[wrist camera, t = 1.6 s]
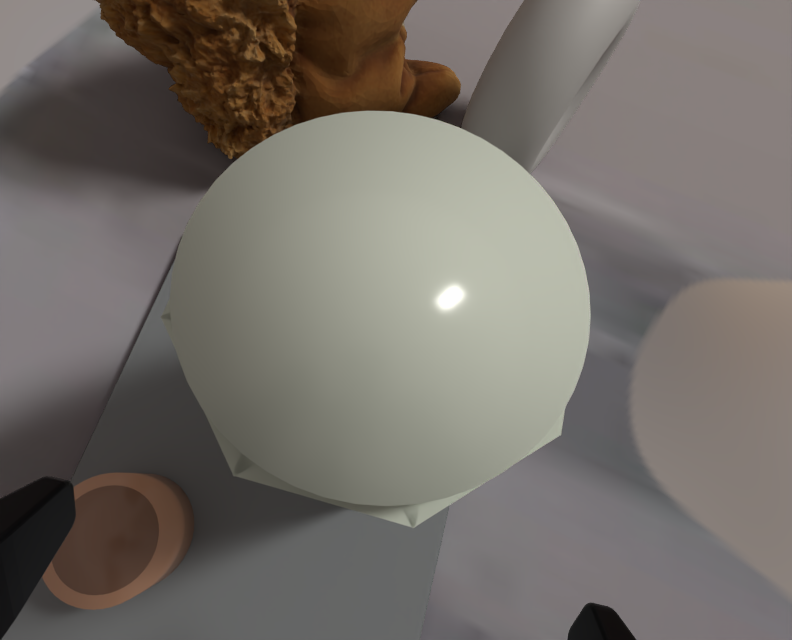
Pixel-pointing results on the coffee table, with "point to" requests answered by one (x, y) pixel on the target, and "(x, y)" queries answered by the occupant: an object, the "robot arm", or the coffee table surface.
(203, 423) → the slate mat
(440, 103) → the stuffed squirrel
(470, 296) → the pale green faceted cylinder
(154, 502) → the pinch bowl
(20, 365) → the coffee table surface
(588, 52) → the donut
